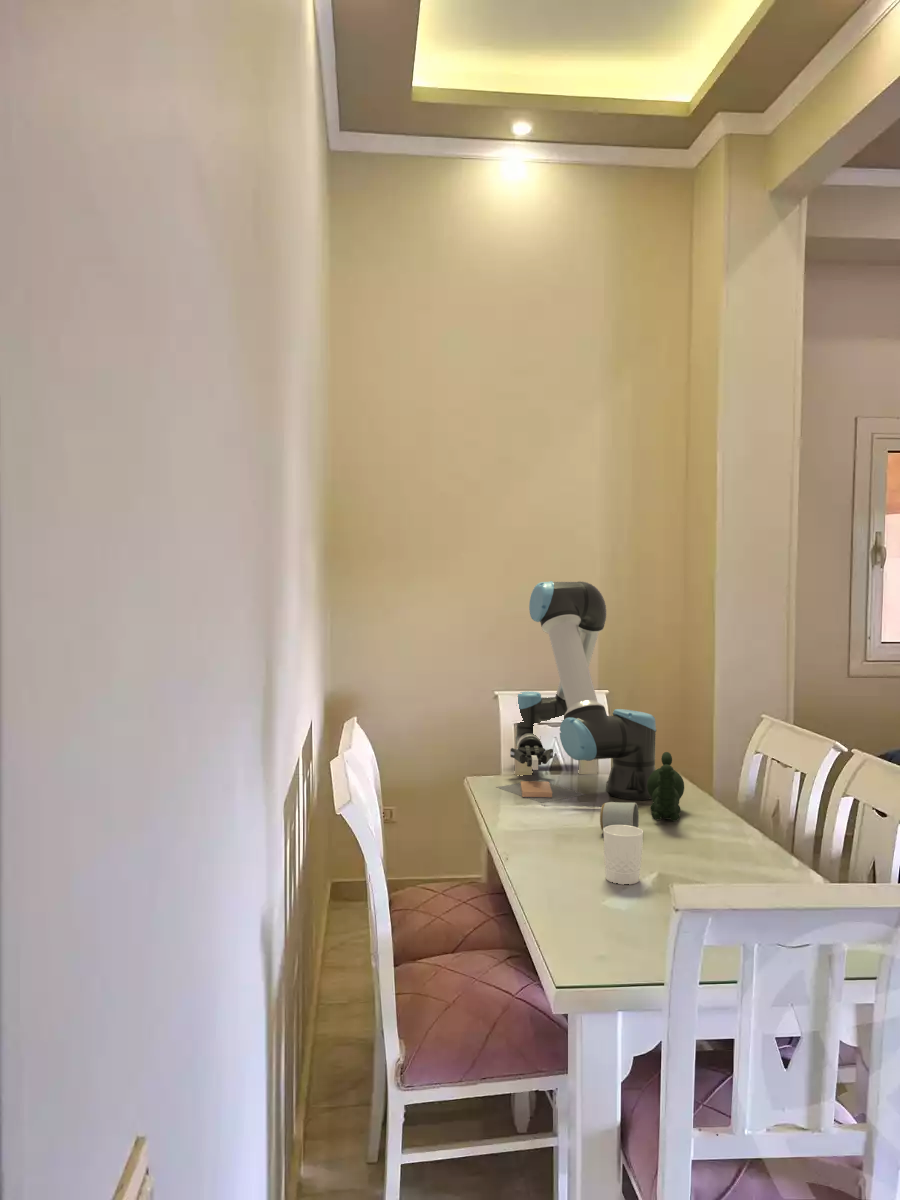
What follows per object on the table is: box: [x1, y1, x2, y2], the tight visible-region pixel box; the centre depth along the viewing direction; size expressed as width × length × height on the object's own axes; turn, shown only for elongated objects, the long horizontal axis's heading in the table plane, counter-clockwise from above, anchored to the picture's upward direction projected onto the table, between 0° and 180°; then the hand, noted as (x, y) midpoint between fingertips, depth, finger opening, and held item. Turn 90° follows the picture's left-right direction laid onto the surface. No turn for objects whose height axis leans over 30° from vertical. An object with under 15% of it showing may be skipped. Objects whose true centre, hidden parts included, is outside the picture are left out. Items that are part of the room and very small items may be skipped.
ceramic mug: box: [599, 801, 640, 836], centre depth 211 cm, size 11×8×8 cm
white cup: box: [602, 825, 644, 885], centre depth 181 cm, size 8×8×10 cm
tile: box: [519, 780, 552, 798], centre depth 248 cm, size 2×8×12 cm
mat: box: [495, 779, 587, 804], centre depth 249 cm, size 20×16×1 cm
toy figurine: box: [647, 751, 685, 822], centre depth 228 cm, size 9×19×25 cm
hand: (535, 764), depth 249 cm, fingers closed
